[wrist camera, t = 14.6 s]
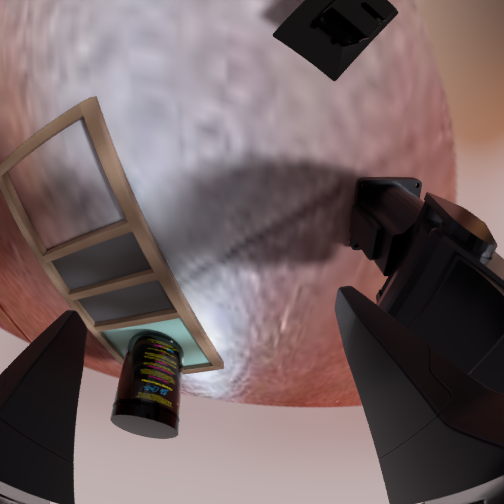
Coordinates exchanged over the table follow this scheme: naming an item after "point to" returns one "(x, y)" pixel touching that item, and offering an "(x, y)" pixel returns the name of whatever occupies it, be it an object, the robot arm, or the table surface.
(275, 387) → the table surface
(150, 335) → the supplement container
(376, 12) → the black box
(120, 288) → the compartment sorting tray
